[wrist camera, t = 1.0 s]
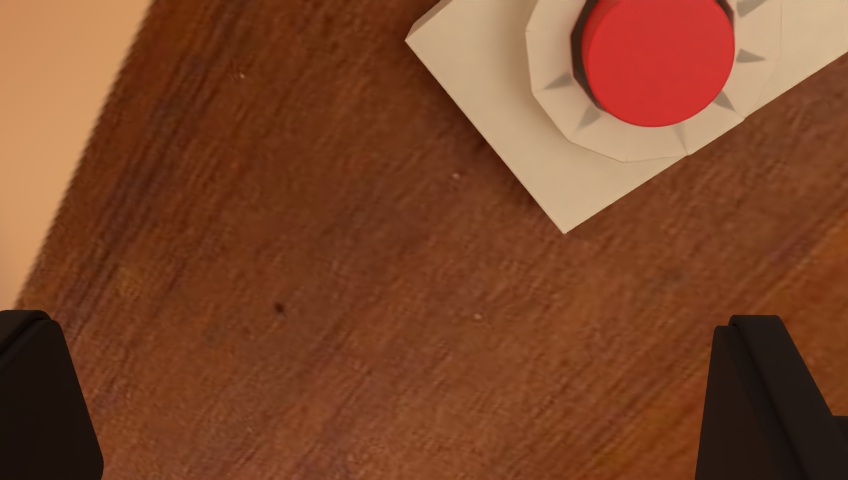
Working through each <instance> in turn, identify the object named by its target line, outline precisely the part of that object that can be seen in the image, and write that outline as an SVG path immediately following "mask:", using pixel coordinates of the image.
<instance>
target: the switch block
mask: <svg viewBox="0 0 848 480" xmlns="http://www.w3.org/2000/svg"><path fill="white" fill-rule="evenodd" d="M598 1H599V0H441V1H440V2H439V3H437V4H436V5H435V6H434V7H433V8H431V9H430V10H429V11H428V12H427V13H425V14H424V15H423V16H422V17H421V18H419V19H418V20H417V21H416V22H415V23H414V24H413V26H412V28H411V29H410V31H409V33H408V35H407V37H406V39H405V42H406V43H407V44H408V45H409V47H410V48H411V49H412V50H413V52H414V53H415V54H416V55H417V56H418V58H419V59H420V60H421V61H422V62H423V64H424V65H425V66H426V67H427V69H428V70H429V71H430V72H431V73H432V75H433V76H434V77H435V78H436V80H437V81H438V82H439V83H440V84H441V86H442V87H443V88H444V89H445V91H446V92H447V93H448V94H449V95H450V97H451V98H452V99H453V100H454V102H455V103H456V104H457V105H458V106H459V108H460V109H461V110H462V111H463V113H464V114H465V115H466V116H467V117H468V119H469V120H470V121H471V122H472V124H473V125H474V126H475V127H476V128H477V130H478V131H479V132H480V133H481V134H482V136H483V137H484V138H485V139H486V141H487V142H488V143H489V144H490V145H491V147H492V148H493V149H494V150H495V152H496V153H497V154H498V155H499V156H500V158H501V159H502V160H503V161H504V163H505V164H506V165H507V166H508V167H509V169H510V170H511V171H512V172H513V174H514V175H515V176H516V177H517V178H518V180H519V181H520V182H521V183H522V185H523V186H524V187H525V188H526V189H527V191H528V192H529V193H530V194H531V195H532V197H533V198H534V199H535V200H536V202H537V203H538V204H539V205H540V206H541V208H542V209H543V210H544V211H545V213H546V214H547V215H548V216H549V217H550V219H551V220H552V221H553V222H554V224H555V225H556V226H557V227H558V228H559V230H560V231H561V232H562V233H563V234H565V233H566V232H568V231H570V230H571V229H573V228H574V227H576V226H577V225H579V224H580V223H582V222H584V221H585V220H587V219H588V218H590V217H591V216H593V215H594V214H596V213H598V212H599V211H601V210H602V209H604V208H605V207H607V206H608V205H610V204H612V203H613V202H615V201H616V200H618V199H619V198H621V197H622V196H624V195H626V194H627V193H629V192H630V191H632V190H633V189H635V188H636V187H638V186H640V185H641V184H643V183H644V182H646V181H647V180H649V179H650V178H652V177H653V176H655V175H657V174H658V173H660V172H661V171H663V170H664V169H666V168H667V167H669V166H671V165H672V164H674V163H675V162H677V161H678V160H680V159H681V158H683V157H685V156H687V155H691V154H693V153H694V152H696V151H697V150H699V149H700V148H702V147H703V146H705V145H707V144H708V143H710V142H711V141H713V140H714V139H716V138H717V137H719V136H721V135H722V134H724V133H725V132H727V131H728V130H730V129H732V128H733V127H735V126H736V125H738V124H739V123H741V122H742V121H744V118H745V117H747V116H748V115H750V114H751V113H753V112H754V111H756V110H758V109H759V108H761V107H762V106H764V105H765V104H767V103H768V102H770V101H772V100H773V99H775V98H776V97H778V96H779V95H781V94H782V93H784V92H786V91H787V90H789V89H790V88H792V87H793V86H795V85H796V84H798V83H800V82H801V81H803V80H804V79H806V78H807V77H809V76H810V75H812V74H814V73H815V72H817V71H818V70H820V69H821V68H823V67H824V66H826V65H828V64H829V63H831V62H832V61H834V60H835V59H837V58H838V57H840V56H841V55H843V54H845V53H846V52H848V0H714V1H715V2H716V3H718V4H719V6H720V7H721V8H722V9H723V11H724V12H725V14H726V16H727V17H728V19H729V21H730V24H731V27H732V30H733V34H734V40H735V55H734V61H733V66H732V69H731V72H730V75H729V77H728V79H727V81H726V83H725V85H724V87H723V88H722V90H721V91H720V93H719V94H718V95H717V97H716V98H715V99H714V100H713V101H712V102H711V103H710V104H709V105H708V106H707V107H706V108H704V109H703V110H702V111H700V112H699V113H698V114H696V115H694V116H693V117H691V118H689V119H687V120H685V121H682V122H680V123H677V124H673V125H669V126H664V127H641V126H635V125H632V124H629V123H626V122H623V121H621V120H619V119H617V118H616V117H614V116H613V115H611V114H610V113H609V112H607V111H606V110H605V109H604V108H603V107H602V106H601V105H600V103H599V102H598V101H597V99H596V98H595V96H594V95H593V93H592V91H591V88H590V86H589V83H588V80H587V76H586V73H585V69H584V65H583V62H582V55H581V40H582V34H583V30H584V26H585V23H586V21H587V18H588V16H589V15H590V13H591V11H592V9H593V8H594V6H595V5H596V4H597V2H598Z"/></svg>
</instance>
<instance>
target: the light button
mask: <svg viewBox="0 0 848 480" xmlns="http://www.w3.org/2000/svg"><path fill="white" fill-rule="evenodd" d="M581 55H582V62H583V65H584V69H585V73H586V76H587V80H588V83H589V86H590V88H591V91H592V93H593V95H594V96H595V98H596V99H597V101H598V102H599V103H600V105H601V106H602V107H603V108H604V109H605V110H606V111H607V112H609V113H610V114H611V115H613V116H614V117H616V118H617V119H619V120H621V121H623V122H626V123H629V124H632V125H635V126H641V127H664V126H669V125H673V124H677V123H680V122H682V121H685V120H687V119H689V118H691V117H693V116H694V115H696V114H698V113H699V112H700V111H702V110H703V109H704V108H706V107H707V106H708V105H709V104H710V103H711V102H712V101H713V100H714V99H715V98H716V97H717V95H718V94H719V93H720V91H721V90H722V88H723V87H724V85H725V83H726V81H727V79H728V77H729V75H730V72H731V69H732V66H733V61H734V55H735V40H734V34H733V30H732V27H731V24H730V21H729V19H728V17H727V16H726V14H725V12H724V11H723V9H722V8H721V7H720V6H719V4H718V3H716V2H715V1H714V0H599V1H598V2H597V4H596V5H595V6H594V8H593V9H592V11H591V13H590V15H589V16H588V18H587V21H586V23H585V26H584V30H583V34H582V40H581Z"/></svg>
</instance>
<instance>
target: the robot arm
mask: <svg viewBox="0 0 848 480" xmlns="http://www.w3.org/2000/svg"><path fill="white" fill-rule="evenodd" d="M103 468H104V461H103V456H102V453H101V450H100V447H99V444H98V441H97V438H96V434H95V431H94V428H93V425H92V422H91V419H90V416H89V413H88V409H87V406H86V403H85V400H84V397H83V394H82V391H81V388H80V384H79V381H78V378H77V375H76V372H75V369H74V366H73V363H72V360H71V356H70V353H69V350H68V347H67V344H66V341H65V338H64V335H63V331H62V329H61V327H60V325H59V324H58V322H57V321H54V320H51V318H50V316H49V315H48V314H47V313H46V312H44V311H41V310H3V311H0V480H101V478H102V474H103ZM695 480H848V416H833V415H832V413H831V412H830V410H829V408H828V406H827V404H826V402H825V400H824V398H823V397H822V395H821V393H820V391H819V389H818V387H817V385H816V384H815V382H814V380H813V378H812V376H811V374H810V372H809V370H808V369H807V367H806V365H805V363H804V361H803V359H802V357H801V355H800V354H799V352H798V350H797V348H796V346H795V344H794V342H793V341H792V339H791V337H790V335H789V333H788V331H787V329H786V327H785V326H784V324H783V322H782V320H781V319H780V317H779V316H776V315H733V316H732V317H731V318H730V321H729V324H728V326H717V327H716V328H715V330H714V335H713V343H712V350H711V358H710V366H709V374H708V381H707V389H706V397H705V404H704V412H703V420H702V427H701V435H700V443H699V451H698V458H697V466H696V474H695Z"/></svg>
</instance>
